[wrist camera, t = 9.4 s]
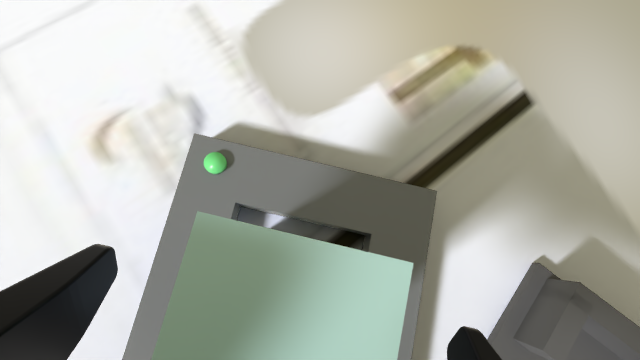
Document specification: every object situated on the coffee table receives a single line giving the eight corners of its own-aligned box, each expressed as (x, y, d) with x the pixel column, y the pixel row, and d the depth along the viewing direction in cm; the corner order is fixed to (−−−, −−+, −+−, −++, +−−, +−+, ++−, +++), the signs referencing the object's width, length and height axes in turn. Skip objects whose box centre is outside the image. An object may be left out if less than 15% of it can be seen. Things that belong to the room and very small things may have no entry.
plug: (319, 338, 16) (370, 517, 5) (235, 318, 16) (119, 463, 5) (337, 253, 17) (413, 262, 6) (258, 234, 17) (197, 211, 6)
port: (384, 448, 15) (396, 474, 14) (124, 393, 15) (102, 412, 13) (425, 195, 18) (439, 189, 16) (202, 143, 18) (192, 131, 16)
